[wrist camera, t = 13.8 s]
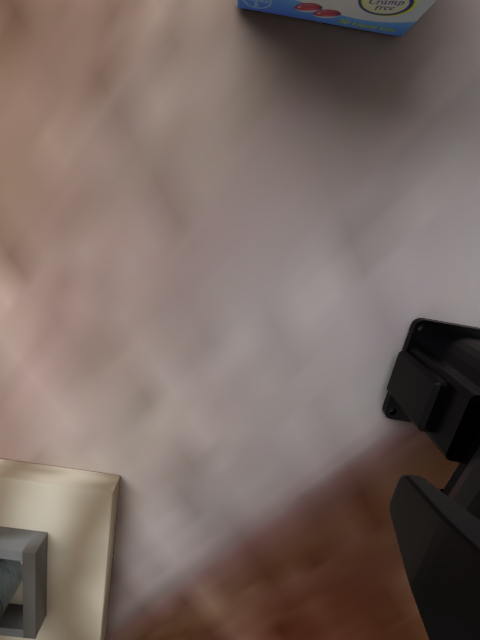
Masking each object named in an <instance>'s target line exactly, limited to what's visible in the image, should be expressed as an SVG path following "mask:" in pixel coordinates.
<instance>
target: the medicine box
mask: <svg viewBox="0 0 480 640" xmlns="http://www.w3.org/2000/svg"><path fill="white" fill-rule="evenodd" d="M436 1H437V0H235V4H236V6H237V7H238V8H243V9H250V10H255V11H261V12H266V13H272V14H278V15H283V16H288V17H294V18H299V19H305V20H311V21H316V22H321V23H328V24H333V25H338V26H344V27H350V28H355V29H361V30H366V31H372V32H377V33H383V34H388V35H395V36H402V35H403V34H405V33H406V32H407V31H408V30H409V29H410V28H411V27H412V26H413V24H415V23H416V22H417V20H418V19H419V18H420V17H421V16H422V15H423V14H424V13H425V12H426V11H427V10H428V9H429V8H430V7H431V6H432V5H433V4H434V3H435V2H436Z"/></svg>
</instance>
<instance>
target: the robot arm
mask: <svg viewBox="0 0 480 640" xmlns="http://www.w3.org/2000/svg"><path fill="white" fill-rule="evenodd" d="M422 324H424V327H423V329H421V330H418V327H419V326H420V325H422ZM387 390H388V393H387V396H386V399H385V402H384V405H383V408H382V410H383V413H384V414H385V415H386V417H387V418H390V419H395V420H402V421H408V422H413V423H414V424H415V425H416V426H417V428H418V429H419V430H420V431H424V432H425V433H426V434H427V435H428V436H429V438H430V439H431V440H432V441H433V442H434V444H435V445H436V446H437V447H438V449H439V450H440V451H441V452H442V453H443V455H444V456H445V457H446V458H447V459H448V460H450V461H457V462H459V463H460V464H459V466H458V467H457V469H456V470H455V472H454V474H453V475H452V477H451V478H450V480H449V482H448V483H447V485H446V486H445V488H444V489H441V490H439V489H437V488H436V487H435V486H433V485H432V484H431V483H429V482H428V481H427V480H425V479H424V478H422V477H420V476H415V475H408V474H404V475H402V476H401V477H400V478H399V480H398V483H397V485H396V488H395V491H394V493H393V496H392V498H391V501H390V515H391V518H392V522H393V526H394V529H395V533H396V537H397V541H398V544H399V548H400V552H401V555H402V559H403V563H404V567H405V570H406V574H407V577H408V581H409V584H410V587H411V590H412V593H413V596H414V599H415V602H416V604H417V607H418V610H419V613H420V615H421V618H422V621H423V623H424V626H425V629H426V632H427V634H428V637H429V640H480V328H477V327H471V326H465V325H460V324H454V323H448V322H442V321H437V320H431V319H425V318H418V319H415V320H414V321H413V322H412V324H411V326H410V329H409V332H408V335H407V338H406V341H405V344H404V347H403V349H402V351H401V352H400V353H399V354H398V357H397V360H396V363H395V366H394V369H393V372H392V375H391V378H390V381H389V384H388V386H387ZM392 408H394V410H393V411H391V412H389V410H390V409H392Z"/></svg>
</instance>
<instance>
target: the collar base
mask: <svg viewBox="0 0 480 640" xmlns="http://www.w3.org/2000/svg"><path fill="white" fill-rule="evenodd" d="M119 483H120V476H119V475H112V474H105V473H98V472H91V471H84V470H76V469H69V468H62V467H55V466H48V465H41V464H33V463H26V462H19V461H12V460H5V459H0V559H8V560H16V561H20V562H21V564H22V573H23V580H22V582H21V584H20V586H19V587H18V589H17V591H16V593H15V594H14V596H13V598H12V599H11V601H10V603H9V605H8V606H7V608H6V610H5V612H4V613H3V615H2V617H1V619H0V640H104V638H105V635H106V626H107V615H108V604H109V593H110V582H111V571H112V560H113V549H114V538H115V527H116V516H117V505H118V494H119Z"/></svg>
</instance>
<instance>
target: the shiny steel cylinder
mask: <svg viewBox="0 0 480 640" xmlns="http://www.w3.org/2000/svg"><path fill="white" fill-rule="evenodd" d="M22 580H23V573H22V564H21V562H20V561H16V560H8V559H0V619H1V617H2V615H3V613H4V612H5V610H6V608H7V606H8V605H9V603H10V601H11V599H12V598H13V596H14V594H15V593H16V591H17V589H18V587H19V586H20V584H21V582H22Z"/></svg>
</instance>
